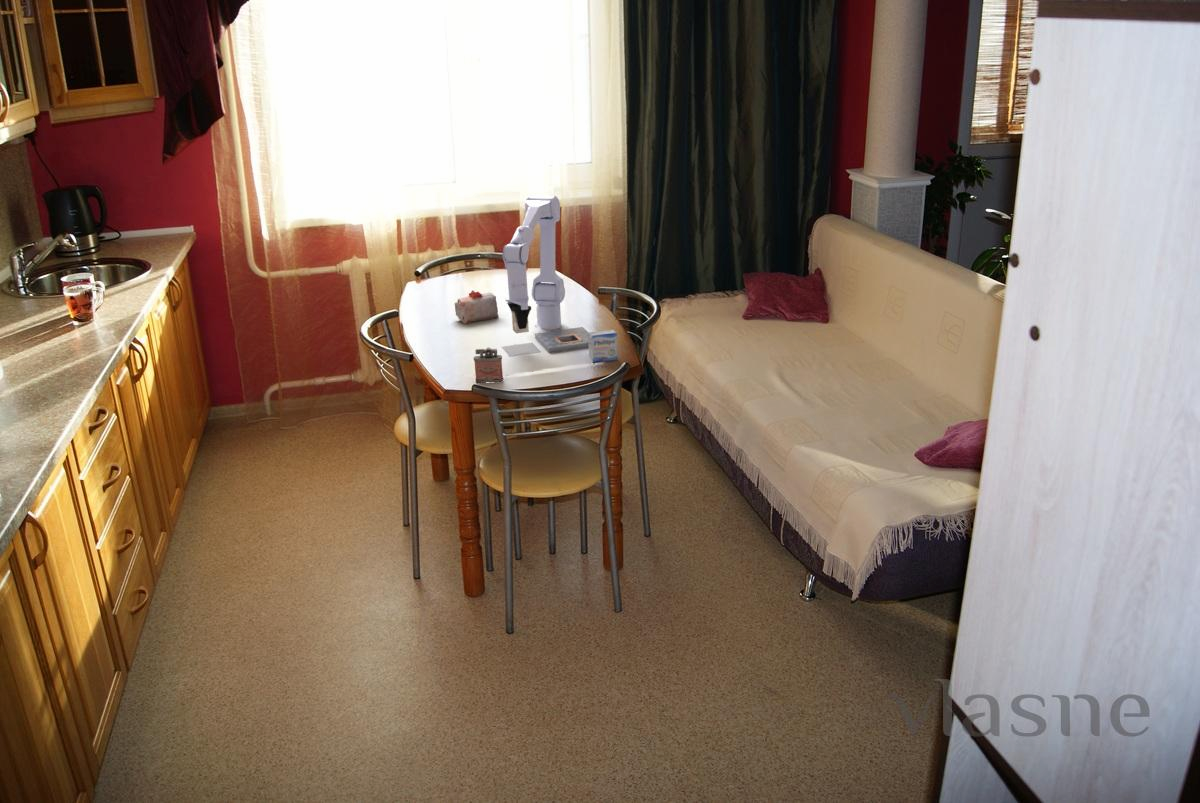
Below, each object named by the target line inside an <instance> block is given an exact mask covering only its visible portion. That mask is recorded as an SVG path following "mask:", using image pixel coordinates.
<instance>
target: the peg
mask: <svg viewBox="0 0 1200 803" xmlns="http://www.w3.org/2000/svg"><path fill="white" fill-rule="evenodd" d="M511 323H512V324H511V325H512V331H513V332H514V333H515V334H523V333H529V318H528V319H527V326H526V328H525V329H519V327H518V324H517V319H516V315H515V313H514V311H512V312H511Z"/></svg>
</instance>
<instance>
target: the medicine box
mask: <svg viewBox="0 0 1200 803" xmlns="http://www.w3.org/2000/svg"><path fill="white" fill-rule="evenodd" d="M588 343H589V347H588V356H589V358H590V360H592V363H593V364H598V363H606V362H613V361H618V333H617V332H616V331H615V330H614V329H605V330H598V331H597V330H596V331H590V332H589V331H588Z"/></svg>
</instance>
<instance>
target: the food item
mask: <svg viewBox="0 0 1200 803" xmlns="http://www.w3.org/2000/svg"><path fill="white" fill-rule="evenodd" d="M454 307H455V308H454V309H455V310H454V311H455V316H456V317H457V318H458V320H460V321H461V322H463V323H464V324H465V325H466V324H471V323H474V322H475V321H476V322H481V321H485V320H486V319H487V320H491V319H492V318H493V319H496V318H499V313H498V312H499V311H498V302H497V296H496V295H494V293H492V292H486V293H485V292H484V293H481V292H479V291H475V290H472V291H471V292H469V293H468V296H466V297H460V298H457V301H456V302H455V303H454ZM487 320H486V321H487Z"/></svg>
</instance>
